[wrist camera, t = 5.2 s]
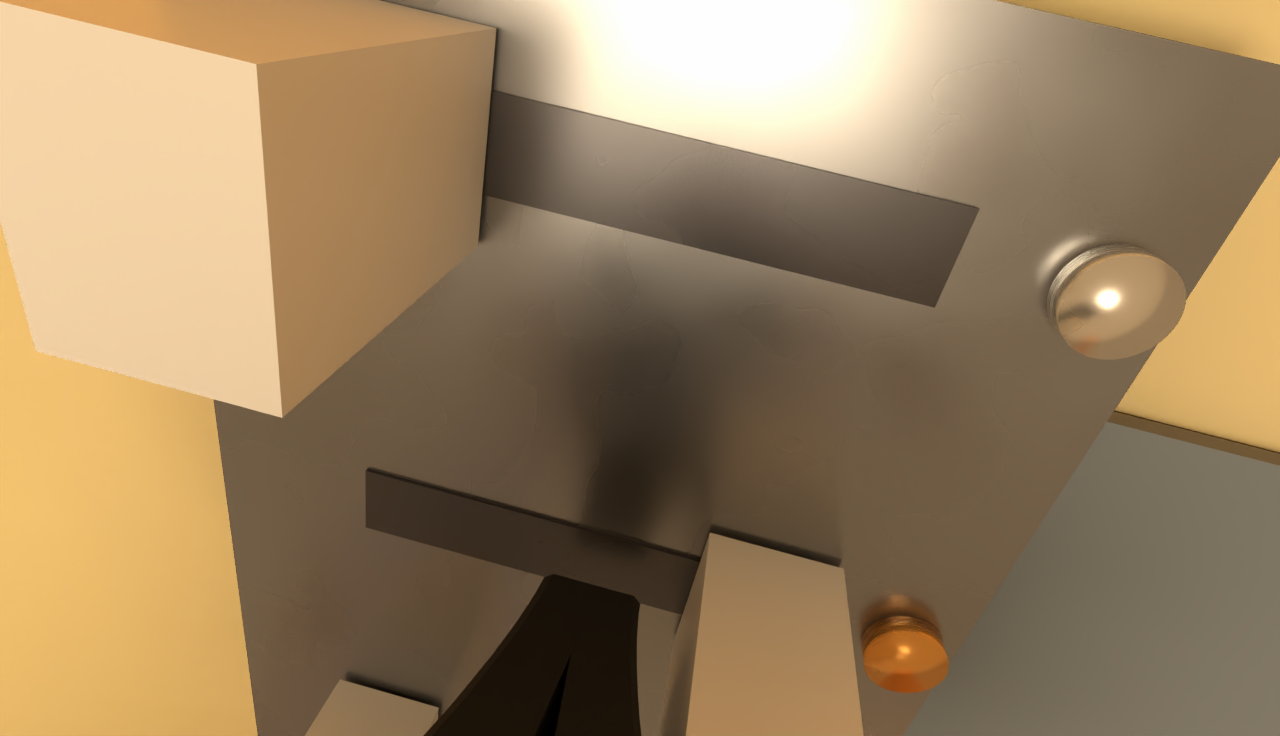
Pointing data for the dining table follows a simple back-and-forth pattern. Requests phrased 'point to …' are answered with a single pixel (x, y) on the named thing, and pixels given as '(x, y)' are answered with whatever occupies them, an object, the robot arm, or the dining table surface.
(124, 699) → the dining table surface
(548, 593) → the robot arm
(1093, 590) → the mat
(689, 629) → the block
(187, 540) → the dining table surface
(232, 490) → the panel
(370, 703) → the block
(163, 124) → the block
